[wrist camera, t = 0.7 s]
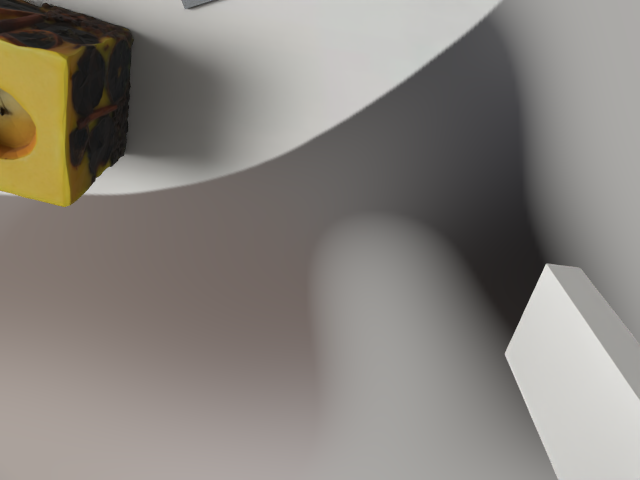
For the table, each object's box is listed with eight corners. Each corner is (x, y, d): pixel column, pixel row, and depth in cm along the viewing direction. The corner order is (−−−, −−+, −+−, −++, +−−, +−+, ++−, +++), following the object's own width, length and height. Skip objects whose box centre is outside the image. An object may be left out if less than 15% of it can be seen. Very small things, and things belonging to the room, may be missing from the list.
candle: (-9, -14, 33) (-130, -6, 25) (136, 27, 34) (69, 49, 26) (2, 124, 38) (-95, 171, 30) (128, 156, 39) (70, 210, 31)
